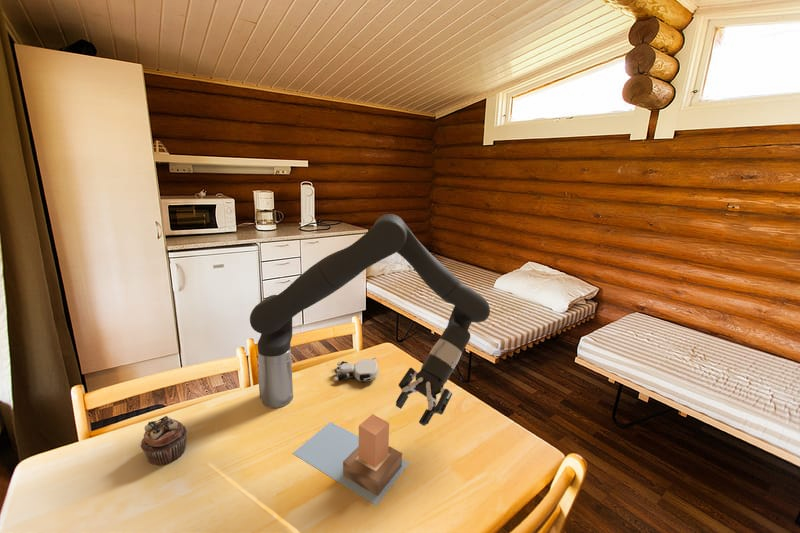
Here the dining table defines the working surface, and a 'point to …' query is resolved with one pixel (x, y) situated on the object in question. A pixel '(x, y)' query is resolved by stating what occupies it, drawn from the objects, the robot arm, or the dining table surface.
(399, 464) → the walnut foundation
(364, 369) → the robot toy
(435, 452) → the dining table surface
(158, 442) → the cupcake
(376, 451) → the terracotta block
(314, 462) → the board
